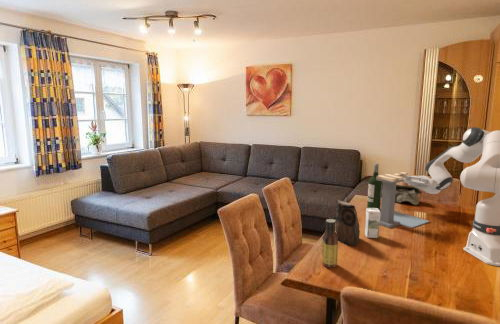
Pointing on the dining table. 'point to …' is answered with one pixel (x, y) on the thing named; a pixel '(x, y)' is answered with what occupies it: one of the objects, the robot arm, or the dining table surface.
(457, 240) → the dining table surface
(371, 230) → the syrup box
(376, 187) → the wine bottle
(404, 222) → the mat
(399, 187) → the hollow geode rock
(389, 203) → the pedestal
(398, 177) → the board
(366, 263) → the dining table surface
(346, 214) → the black speaker
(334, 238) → the sauce bottle
